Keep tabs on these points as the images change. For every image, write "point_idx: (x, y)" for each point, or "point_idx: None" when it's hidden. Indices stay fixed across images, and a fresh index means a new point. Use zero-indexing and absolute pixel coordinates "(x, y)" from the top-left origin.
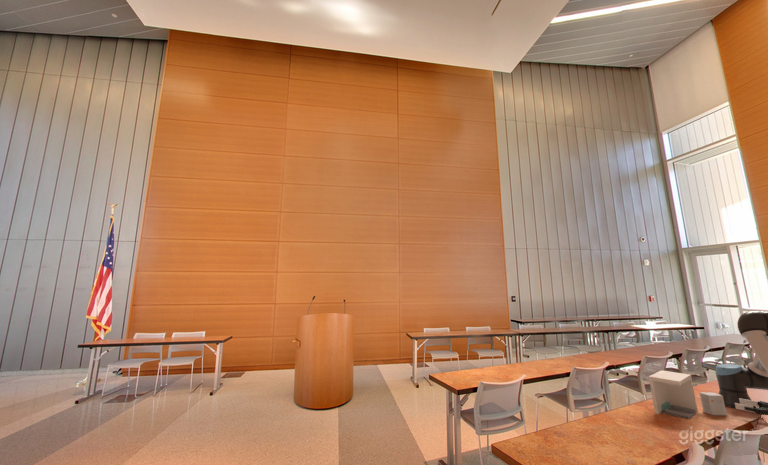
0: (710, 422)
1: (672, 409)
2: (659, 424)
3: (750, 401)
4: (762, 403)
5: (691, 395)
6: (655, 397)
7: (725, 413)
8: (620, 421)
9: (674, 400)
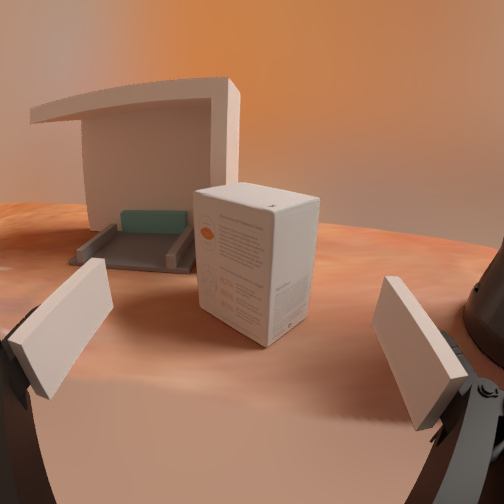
0: None
1: (161, 237)
2: (8, 239)
3: (418, 342)
4: (454, 441)
5: None
6: (84, 177)
7: (260, 335)
8: (15, 216)
9: None
